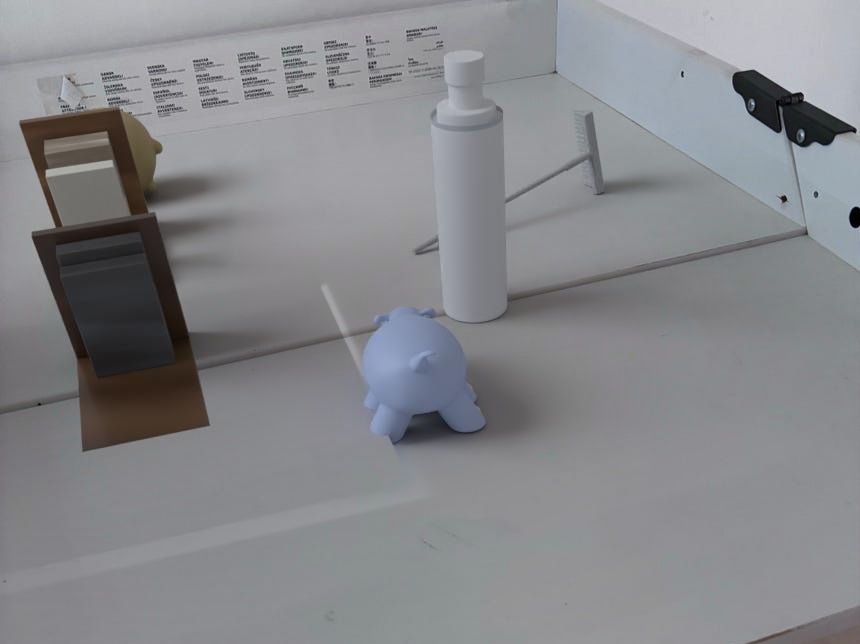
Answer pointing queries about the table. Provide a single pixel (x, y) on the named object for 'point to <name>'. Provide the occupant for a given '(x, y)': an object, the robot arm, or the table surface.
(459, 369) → the hippopotamus toy
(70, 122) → the wooden bookshelf
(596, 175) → the grey toy rake
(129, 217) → the stand
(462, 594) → the table surface
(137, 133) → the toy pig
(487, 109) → the spray bottle
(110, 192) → the white book
